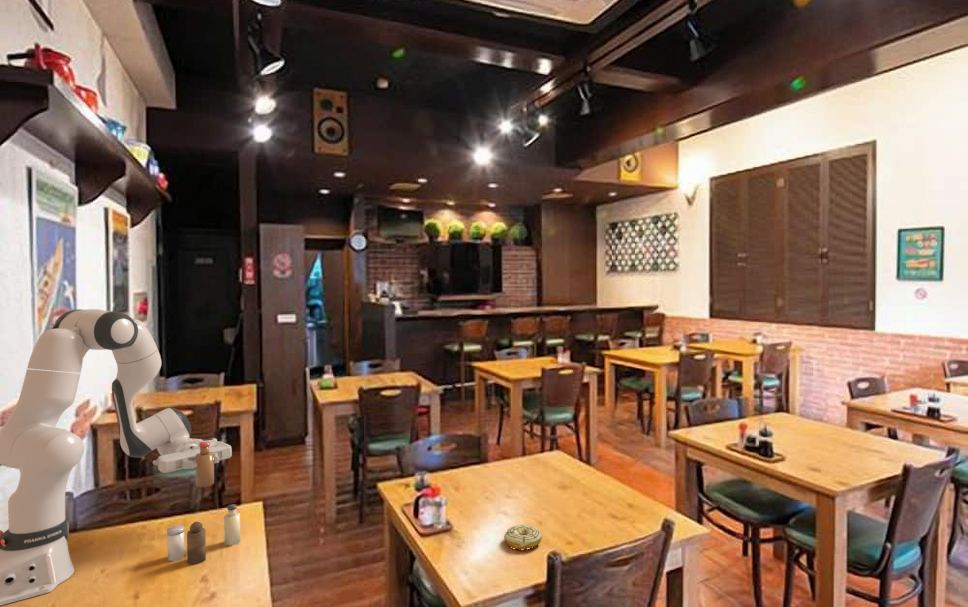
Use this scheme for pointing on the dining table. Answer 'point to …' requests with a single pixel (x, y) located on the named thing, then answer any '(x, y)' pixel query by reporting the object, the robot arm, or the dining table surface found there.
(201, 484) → the soy bottle
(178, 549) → the salt shaker
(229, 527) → the vinegar bottle
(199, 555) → the pepper mill
